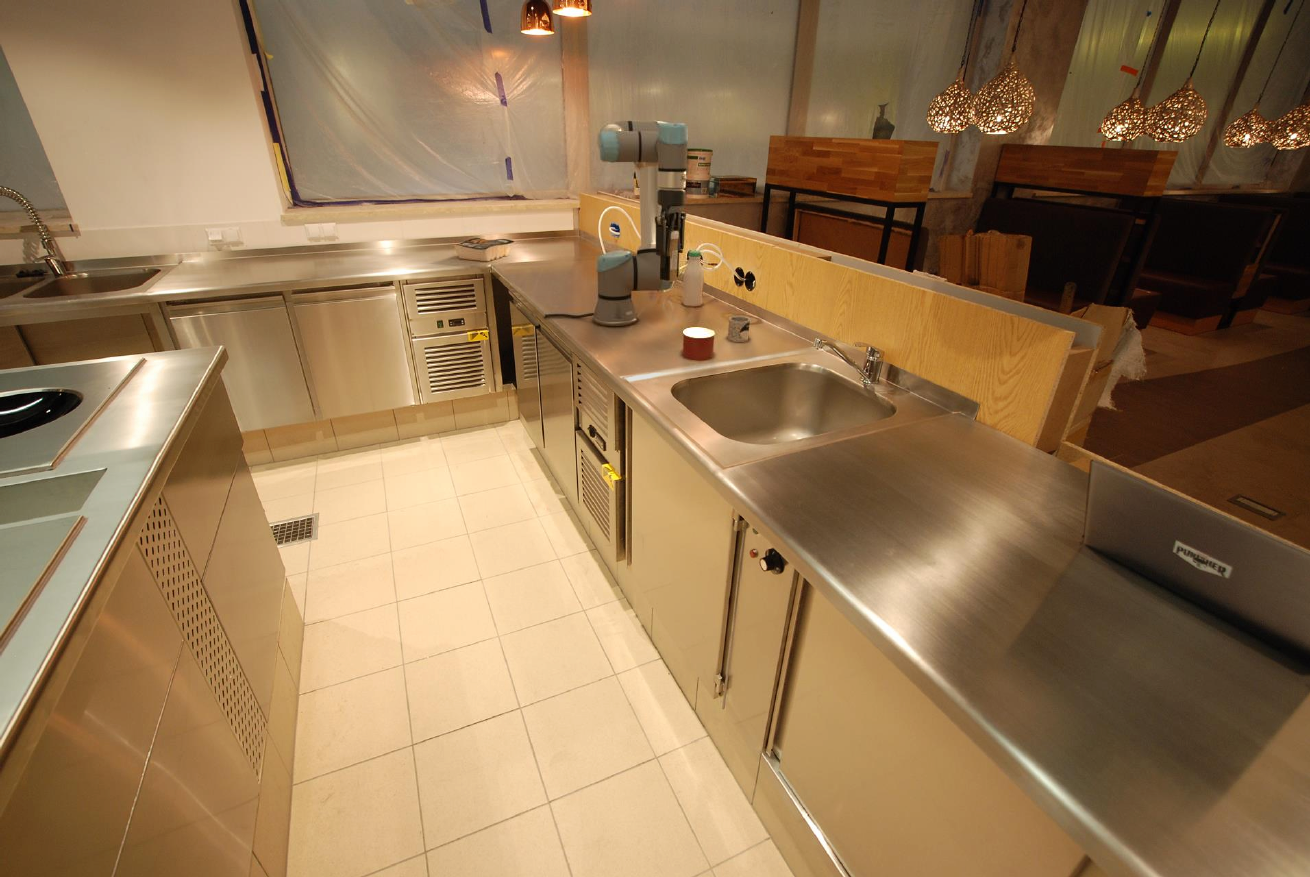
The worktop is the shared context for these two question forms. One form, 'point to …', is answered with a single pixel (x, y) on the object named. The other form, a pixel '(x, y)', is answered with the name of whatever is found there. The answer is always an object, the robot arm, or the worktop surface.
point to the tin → (698, 343)
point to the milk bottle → (693, 280)
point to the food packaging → (483, 249)
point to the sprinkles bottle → (673, 255)
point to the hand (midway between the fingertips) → (669, 277)
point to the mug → (738, 329)
